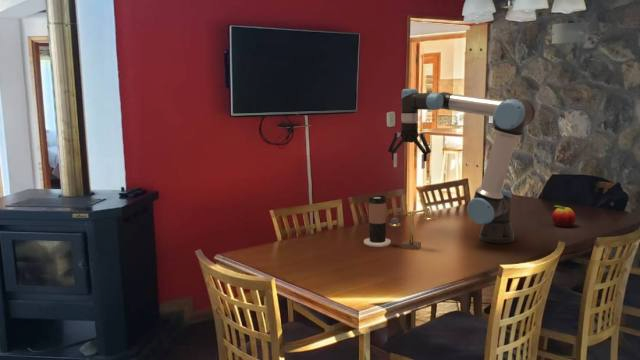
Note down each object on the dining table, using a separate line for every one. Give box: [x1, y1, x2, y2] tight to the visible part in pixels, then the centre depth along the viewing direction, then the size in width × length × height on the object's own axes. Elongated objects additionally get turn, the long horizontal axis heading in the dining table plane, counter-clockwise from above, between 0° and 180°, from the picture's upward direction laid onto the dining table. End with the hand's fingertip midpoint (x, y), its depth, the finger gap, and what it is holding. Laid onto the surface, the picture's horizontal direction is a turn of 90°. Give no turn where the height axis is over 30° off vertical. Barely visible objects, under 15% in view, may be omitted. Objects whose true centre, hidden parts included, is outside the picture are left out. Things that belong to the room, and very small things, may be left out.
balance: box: [388, 207, 436, 251], centre depth 246 cm, size 20×6×18 cm, turn 63°
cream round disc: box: [363, 237, 392, 248], centre depth 255 cm, size 12×12×1 cm
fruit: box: [551, 204, 576, 228], centre depth 280 cm, size 11×11×10 cm
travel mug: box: [368, 195, 387, 243], centre depth 253 cm, size 8×8×20 cm
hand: (409, 167), depth 267 cm, fingers open, 13 cm apart
